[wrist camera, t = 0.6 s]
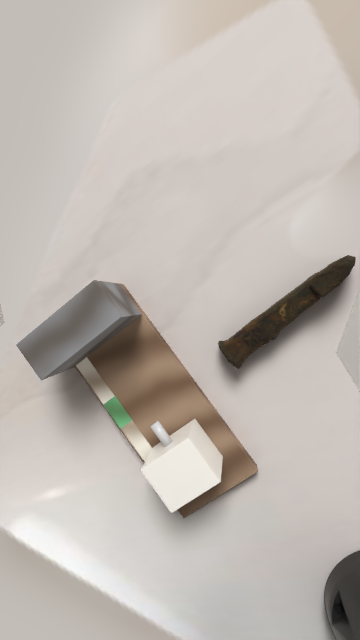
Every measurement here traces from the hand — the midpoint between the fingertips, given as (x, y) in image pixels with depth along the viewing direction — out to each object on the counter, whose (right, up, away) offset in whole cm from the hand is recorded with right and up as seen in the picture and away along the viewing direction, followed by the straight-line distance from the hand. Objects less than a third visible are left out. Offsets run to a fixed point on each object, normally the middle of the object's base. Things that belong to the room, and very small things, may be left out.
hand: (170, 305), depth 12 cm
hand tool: (+13, +1, +30) cm, 33 cm away
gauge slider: (-1, -17, +31) cm, 36 cm away
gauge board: (-3, -11, +33) cm, 35 cm away
